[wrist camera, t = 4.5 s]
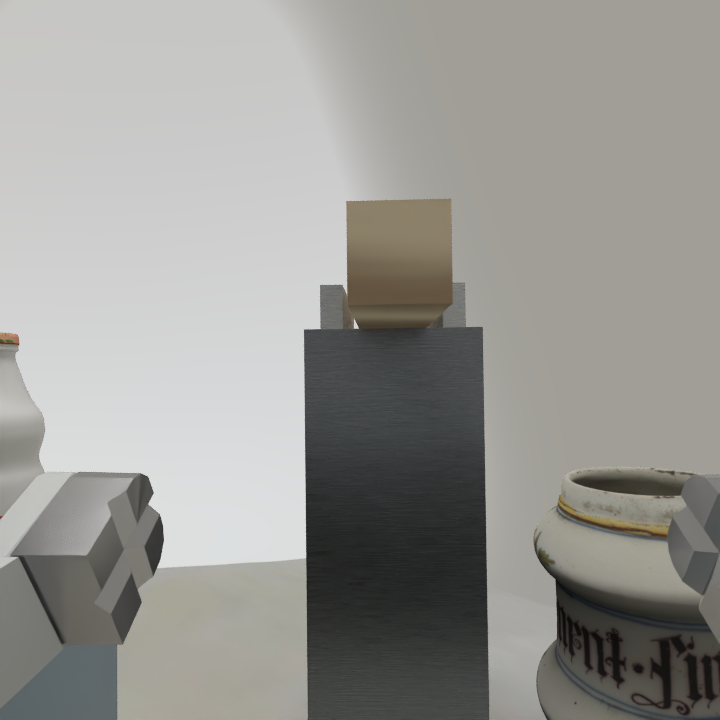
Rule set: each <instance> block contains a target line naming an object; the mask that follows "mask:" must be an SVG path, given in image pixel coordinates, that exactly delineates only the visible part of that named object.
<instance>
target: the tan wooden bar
mask: <svg viewBox="0 0 720 720" xmlns="http://www.w3.org/2000/svg"><path fill="white" fill-rule="evenodd" d="M346 203H347V283H348V284H347V289H348V290H347V291H348V307H349V309H350V311H351V313H352V315H353V317H354V319H355V321H356V323H357V325H358V327H359V329H380V328H427V327H428V326H429V325H430V324H431V323H432V322H433V321H434V320H435V319H436V318H437V317H439V316H440V315H441V314H442V313H443V312H444V311H445V310H446V309H447V308H448V307H449V306H450V305H452V304H453V287H452V229H451V227H452V226H451V225H452V224H451V199H423V200H381V201H347V202H346Z"/></svg>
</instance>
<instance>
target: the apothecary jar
mask: <svg viewBox="0 0 720 720" xmlns="http://www.w3.org/2000/svg"><path fill="white" fill-rule="evenodd" d="M692 475H704V474H699V473H694V472H688V471H680V470H671V469H661V468H645V467H594V468H585V469H579V470H575V471H571V472H569V473H567V474H566V475H565V476H564V477H563V480H562V486H561V488H562V494H561V495H560V496H559V499H558V505H557V506H556V507H554V508H552V509H551V510H550V511H548V513H546V514H545V515H544V516H543V517H542V519H541V520H540V522H539V524H538V525H537V527H536V530H535V533H534V547H535V552H536V555H537V557H538V559H539V561H540V562H541V564H542V565H543V567H544V568H545V569H546V570H547V572H548V573H549V574H550V575H551V576H553V577H554V578H555V579H556V596H557V639H556V640H555V641H554V642H553V643H552V644H551V645H550V646H549V648H548V649H547V650H546V652H545V653H544V655H543V656H542V658H541V661H540V663H539V667H538V671H537V692H538V697H539V701H540V705H541V707H542V710H543V712H544V714H545V716H546V718H547V720H720V644H719V642H718V641H717V639H716V637H715V636H714V634H713V632H712V631H711V629H710V627H709V626H708V624H707V622H706V621H705V619H704V617H703V616H702V614H701V612H700V611H699V604H700V599H701V595H700V594H699V593H698V592H696V591H695V590H693V589H692V588H691V587H689V586H688V585H686V584H685V583H684V582H682V580H681V579H680V577H679V575H678V573H677V572H676V570H675V568H674V566H673V563H672V560H671V557H670V554H669V550H668V537H667V533H668V530H669V526H670V523H671V520H672V517H673V516H674V515H676V514H677V513H678V512H680V511H681V510H682V509H684V508H685V507H686V506H687V505H686V504H685V502H684V500H683V499H682V497H681V492H682V489H683V487H684V484H685V482H686V481H687V480H688V479H689V478H690V477H691V476H692Z"/></svg>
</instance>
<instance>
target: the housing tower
mask: <svg viewBox="0 0 720 720" xmlns="http://www.w3.org/2000/svg"><path fill="white" fill-rule="evenodd" d="M452 287H453V304H452V305H450V306H449V307H448V308H447V309H446V310H445V311H444V312H443V313H442V314H441V315H440V316H439V317H437V318H436V319H435V320H434V321H433V322H432V323H431V324H430V325H429V326H428V327H427V328H380V329H354V317H353V315H352V313H351V311H350V309H349V307H348V297H347V294H346V292H345V290H344V288H343V285H320V307H321V309H320V310H321V329H315V330H304V363H305V453H306V454H305V455H306V456H305V460H306V462H305V463H306V554H307V555H306V566H307V667H308V720H489V678H488V619H487V564H486V561H487V560H486V505H485V504H486V502H485V443H484V383H483V328H482V327H466V319H465V283H452Z"/></svg>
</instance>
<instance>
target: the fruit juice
mask: <svg viewBox="0 0 720 720" xmlns="http://www.w3.org/2000/svg"><path fill="white" fill-rule="evenodd" d="M18 345H19V337H18V335H17V334H12V333H0V519H1V518H2V517H3V516H4V515H5V514H6V512H7V511H8V510H9V509H10V508H11V506H12V505H13V504H14V503H15V502H16V501H17V499H18V498H19V497H20V496H21V495H22V493H23V492H24V491H25V490H26V489H27V488H28V486H29V485H30V484H31V483H32V482H33V480H34V479H35V478H36V477H37V476H39V475H41V474H44V473H45V472H44V469H43V467H42V466H41V463H40V460H39V451H40V448H41V444H42V441H43V438H44V433H45V426H44V418H43V415H42V413H41V411H40V410H39V408H38V407H37V406H36V405H35V403H34V402H33V400H32V399H31V397H30V395H29V393H28V391H27V389H26V387H25V385H24V382H23V379H22V376H21V373H20V371H19V368H18V366H17V363H16V359H15V353H16V352H17V351H18Z"/></svg>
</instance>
